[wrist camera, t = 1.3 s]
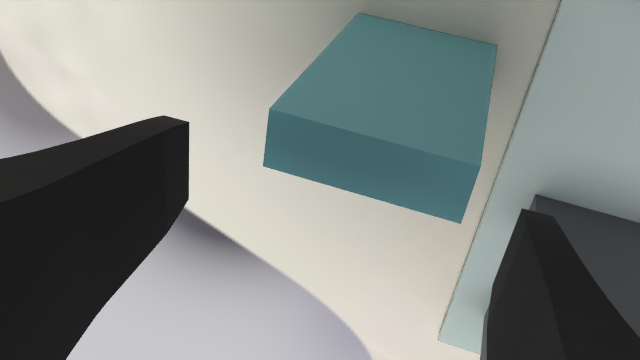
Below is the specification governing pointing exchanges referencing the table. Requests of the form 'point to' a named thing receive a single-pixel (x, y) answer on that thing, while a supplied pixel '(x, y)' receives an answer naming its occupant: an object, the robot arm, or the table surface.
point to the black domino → (603, 251)
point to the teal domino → (388, 116)
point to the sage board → (562, 145)
